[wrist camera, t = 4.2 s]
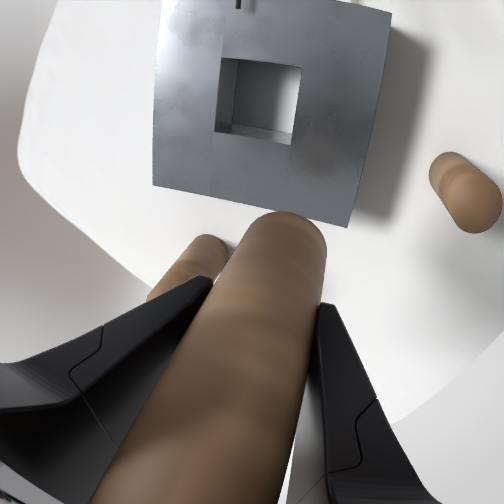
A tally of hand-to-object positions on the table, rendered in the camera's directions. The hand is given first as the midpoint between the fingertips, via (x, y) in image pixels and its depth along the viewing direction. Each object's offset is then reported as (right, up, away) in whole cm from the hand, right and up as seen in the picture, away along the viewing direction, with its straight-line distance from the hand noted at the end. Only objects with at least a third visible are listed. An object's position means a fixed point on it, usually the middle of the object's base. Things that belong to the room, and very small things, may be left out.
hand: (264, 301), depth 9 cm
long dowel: (+1, +1, +3) cm, 3 cm away
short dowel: (+12, +6, +8) cm, 15 cm away
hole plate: (+1, +11, +9) cm, 14 cm away
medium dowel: (-4, +1, +16) cm, 16 cm away
